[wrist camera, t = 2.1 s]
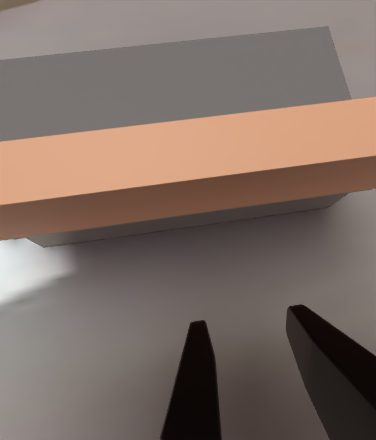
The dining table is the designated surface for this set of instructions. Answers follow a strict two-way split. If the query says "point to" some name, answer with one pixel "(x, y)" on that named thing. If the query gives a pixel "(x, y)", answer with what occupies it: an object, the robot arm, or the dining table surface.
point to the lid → (185, 167)
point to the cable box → (170, 99)
